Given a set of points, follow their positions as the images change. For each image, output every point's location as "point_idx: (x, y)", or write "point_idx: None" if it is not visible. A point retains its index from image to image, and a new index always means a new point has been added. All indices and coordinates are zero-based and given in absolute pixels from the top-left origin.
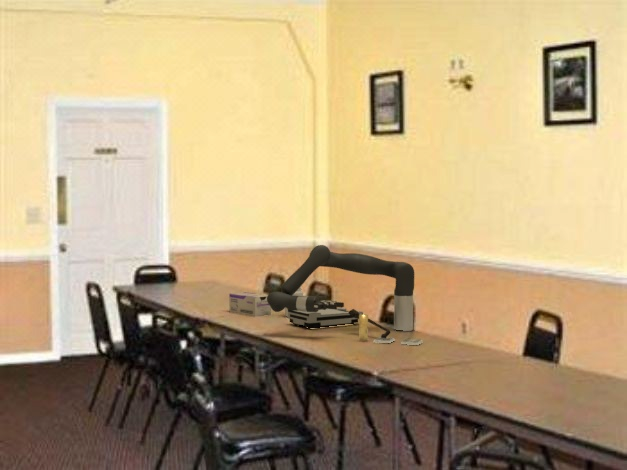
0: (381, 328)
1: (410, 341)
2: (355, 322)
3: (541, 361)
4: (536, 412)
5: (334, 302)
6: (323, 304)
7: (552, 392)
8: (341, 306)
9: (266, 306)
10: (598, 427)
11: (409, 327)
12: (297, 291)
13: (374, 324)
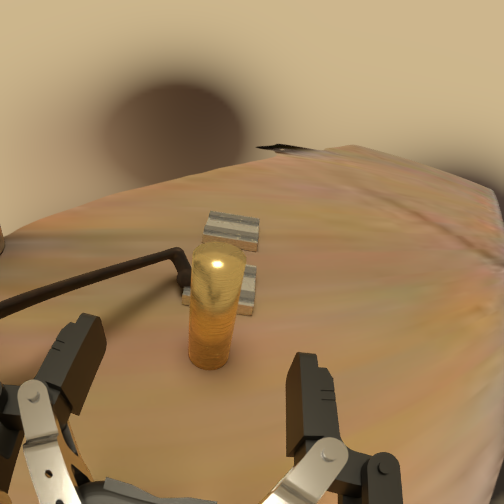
0: (145, 265)
1: (246, 228)
2: None
3: (311, 152)
4: (480, 195)
5: (54, 407)
6: (398, 477)
7: (432, 177)
8: (98, 357)
9: None
10: (475, 185)
11: (1, 230)
12: None
13: (108, 277)
